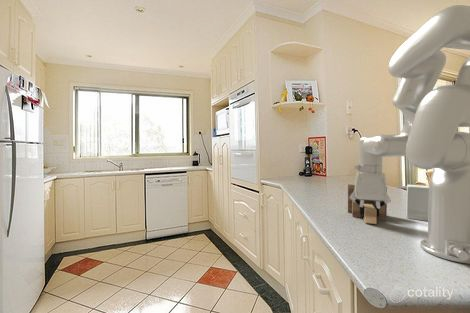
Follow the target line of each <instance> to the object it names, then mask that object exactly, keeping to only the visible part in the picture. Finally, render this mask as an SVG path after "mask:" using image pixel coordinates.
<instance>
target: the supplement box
mask: <svg viewBox="0 0 470 313" xmlns="http://www.w3.org/2000/svg"><path fill="white" fill-rule="evenodd" d="M405 203H406V204H405V205H406V210H405V212H406V214H405V216H406V218H407V219H411V220H419V221H424V222H428V205H429V185H421V184H419V185H418V184H406V202H405Z"/></svg>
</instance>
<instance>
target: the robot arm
mask: <svg viewBox="0 0 470 313" xmlns="http://www.w3.org/2000/svg"><path fill="white" fill-rule="evenodd" d="M443 48H445V49H448V48H449V49H455V50H456V49H457V50H466V51H470V5H465V4H457V5H456V4H455V5H450V6H447V7H445V8H443V9H441V10H439V11H438V12H437V13H435V14H433V16H432V17H430V18H429V19H427V21H426V22H425V23H423V25H422V26H420V27H419V29H417V30H416V31H415V32H414V33H412V35H410V37H409V38H407V39H406V40H405V41H404V42H403V43H402V44H401V45H400V46H399V47H398V48H397V49H396V51H395V52H394V53H393V55H392V56H391V58H390V60H389V63H388V69H387V70H388V72H389V74H390V76H392V77H394V78H398V79H399V78H400V80H399V84H398V85H397V88H396V91H395V93H394V96H393V97H392V101H391V102H392V105H393V106H394V107H395V108H397V109H398V110H400V112H401V113H402V114H403V118H404V123H403V127H402V129H401V131H400V133H399V134H379V135H373V136H372V135H371V136H370V135H369V136H368V135H367V136H362V137H360V138H359V142H358V165H354V170H357V172H356V175H355V181H354V185H355V188H354V191H353V193H352V194H351V195H350V199H351V200H353V201H355V202H356V203H357V204H358V205H359V206H360V215H361V218H364V209H365V208H364V200H372V201H375V209H376V210H377V217H379V209H380V208H381V207H382V206H383V205H385V204H387V205H388V204H389V203H391V202H392V200H391V198H390V197H389V195H388V188H387V189H386V187H387V178H386V174H385V173H383V158H387V157H389V158H391V157H406V159H407V160H408V162H409V163H410V164H411V165H412V166H413V167H416V168H418V169H422V170H432V172H431V176H430V178H429V183H428V186H429V205H428V221H427V238H425V239H422V240H421V241H419V242H420V245H419V246H420V248H421V249H422V250H424V251H426V252H427V253H428V254H431V255H434V256H435V257H438V258H441V259H444V260H448V261H451V262H456V263H463V264H468V265H470V132H466V131H457V130H458V128H470V55H469V56H468V57H467V58H465V60H464V62H463V63H462V65H461V67H460V69H459V71H458V74H457V78H456V79H455V82H454V84H448V85H441V86H438V87H436V84H437V82H438V80H439V78H440V76H441V74H442V72H443V70H444V67H445V65H446V63H447V55H446V53H445V52H444V51H442V50H441V49H443ZM435 87H436V88H435ZM355 197H356V198H355ZM358 199H360V201H359V200H358ZM380 201H381V202H380Z"/></svg>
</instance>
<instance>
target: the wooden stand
mask: <svg viewBox="0 0 470 313" xmlns="http://www.w3.org/2000/svg"><path fill="white" fill-rule="evenodd" d="M354 188H355V184H353V183H352V184H350V183H349V184H347V213H348V212H350V213H349V214H351V215H352V218H353V217H354V218H360V219H361V218H362V215H360V206H359V205H358V204H357V203H356V202H355V201H353V200H351V199H350V195H351V194H352V193H353V191H354ZM386 189H387V190H388V187H387V186H386ZM355 198H356V197H355ZM358 200H359V201H360V199H358ZM380 202H381V201H380ZM364 203H372V204H373V206H374V207H375V201H372V200H364ZM387 208H388V203H387V204H385V205H383V206H382V207H381V208H380V209H379V217H377V220H379V221H380V220H381V221H386V217H387V212H388V211H387V210H388V209H387Z"/></svg>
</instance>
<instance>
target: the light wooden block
mask: <svg viewBox="0 0 470 313" xmlns="http://www.w3.org/2000/svg"><path fill="white" fill-rule="evenodd" d="M364 208H365V209H364V218H363V221H364V224H373V225H377V220H378V219H377V210H376V209H375V207H374V206H373V204H372V203H364Z"/></svg>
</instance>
